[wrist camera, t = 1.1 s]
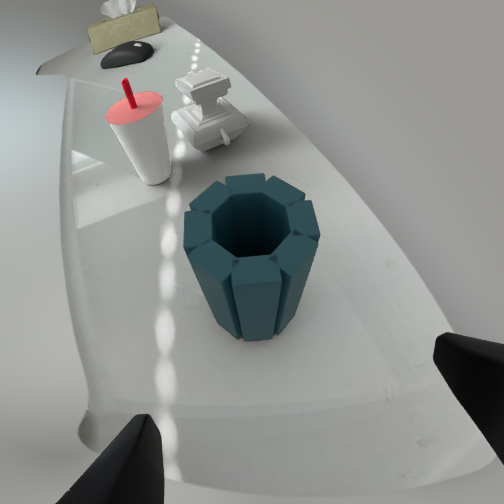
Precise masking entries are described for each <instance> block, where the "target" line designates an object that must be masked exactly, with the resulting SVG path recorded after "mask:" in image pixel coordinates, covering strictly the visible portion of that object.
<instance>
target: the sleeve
mask: <svg viewBox="0 0 504 504" xmlns="http://www.w3.org/2000/svg"><path fill="white" fill-rule="evenodd" d="M225 184H226V185H224V184H222V183H221V182H219V181H215V182H214V183H213V184H212V185H211V186H209V187H208V188H207V189H206V190H205V191H204V192H202V193H201V194H200V195H199V196H198V197H197V198H196V199H194V200H193V201H192V202H191V203H190V204H189V206H190V209H191V211H187V212H185V214H184V242H183V248H184V250H185V252H186V255H187V257H188V259H189V262H190V264H191V266H192V268H193V271H194V273H195V275H196V278H197V280H198V282H199V284H200V286H201V289H202V291H203V293H204V295H205V297H206V300H207V302H208V304H209V306H210V308H211V310H212V313H213V315H214V317H215V319H216V321H217V323H218V324H219V325H220V326H222V327H223V328H224V329H225V330H227V331H228V332H229V333H230V334H231V335H233V336H234V337H235V338H236V339H239V338H240V337H241V336H242V335H243V338H244V341H256V340H265V339H272V337H273V332H274V333H275V334H276V335H279V334H280V333H281V332H282V330H283V329H284V328H285V327H286V325H287V324H288V323H289V322H290V320H291V319H292V318H293V317H294V315H295V312H296V310H297V307H298V304H299V301H300V298H301V295H302V292H303V290H304V287H305V284H306V281H307V278H308V275H309V272H310V269H311V266H312V263H313V260H314V256H315V253H316V250H317V247H318V241H319V238H320V231H319V227H318V223H317V219H316V216H315V212H314V208H313V204H312V201H311V200H306V201H304V199H305V193H304V192H302V191H300V190H298V189H297V188H295V187H293V186H291V185H290V184H288V183H286V182H284V181H283V180H281V179H279V178H277V177H276V176H272V177H271V178H270V179H268V180H267V181H266V179H265V175H264V173H261V174H249V175H237V176H227V177H226V178H225Z"/></svg>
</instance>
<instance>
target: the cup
mask: <svg viewBox="0 0 504 504" xmlns="http://www.w3.org/2000/svg"><path fill="white" fill-rule="evenodd" d="M122 86H123V89H124V92H125V94H126V98H124V99H122V100H120V101H119V102H117V103H116V104H114V105H113V106H112V107H111V108H110V109H109V111H108V112H107V115H106V120H107V122H109V123H110V125H111V126H112V128H113V130H114V132H115V134H116V136H117V137H118V139H119V141H120V143H121V145H122V146H123V148H124V150H125V152H126V153H127V155H128V157H129V159H130V160H131V162H132V164H133V166H134V167H135V169H136V171H137V172H138V174H139V175H140V177H141V179H142V180H143V182H144V183H145V184H148V185H157V184H160V183H162V182H164V181H165V180H167V179H168V178H169V176H170V175H171V172H172V169H171V163H170V156H169V149H168V143H167V137H166V130H165V123H164V116H163V109H162V96H161V95H160V94H159V93H156V92H141V93H136V94H133V92H132V90H131V87H130V84H129V81H128V79H127V78H125V79H124V80H123V81H122Z"/></svg>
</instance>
